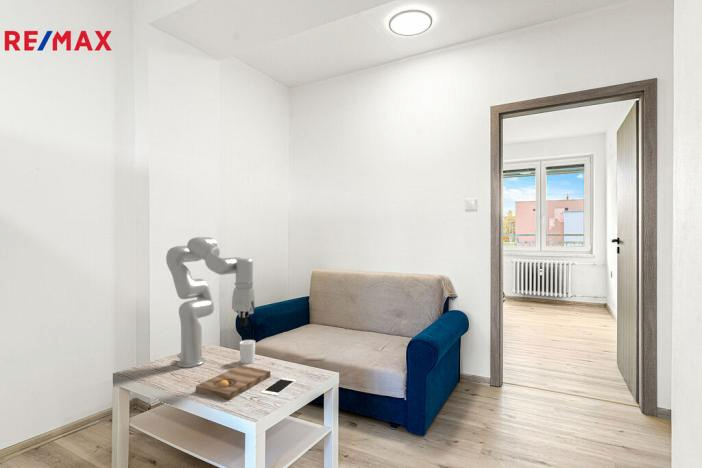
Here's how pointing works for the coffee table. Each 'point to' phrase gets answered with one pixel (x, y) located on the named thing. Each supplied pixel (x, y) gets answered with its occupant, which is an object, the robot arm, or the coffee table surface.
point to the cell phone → (278, 386)
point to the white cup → (247, 351)
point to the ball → (223, 383)
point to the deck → (233, 382)
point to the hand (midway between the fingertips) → (243, 325)
